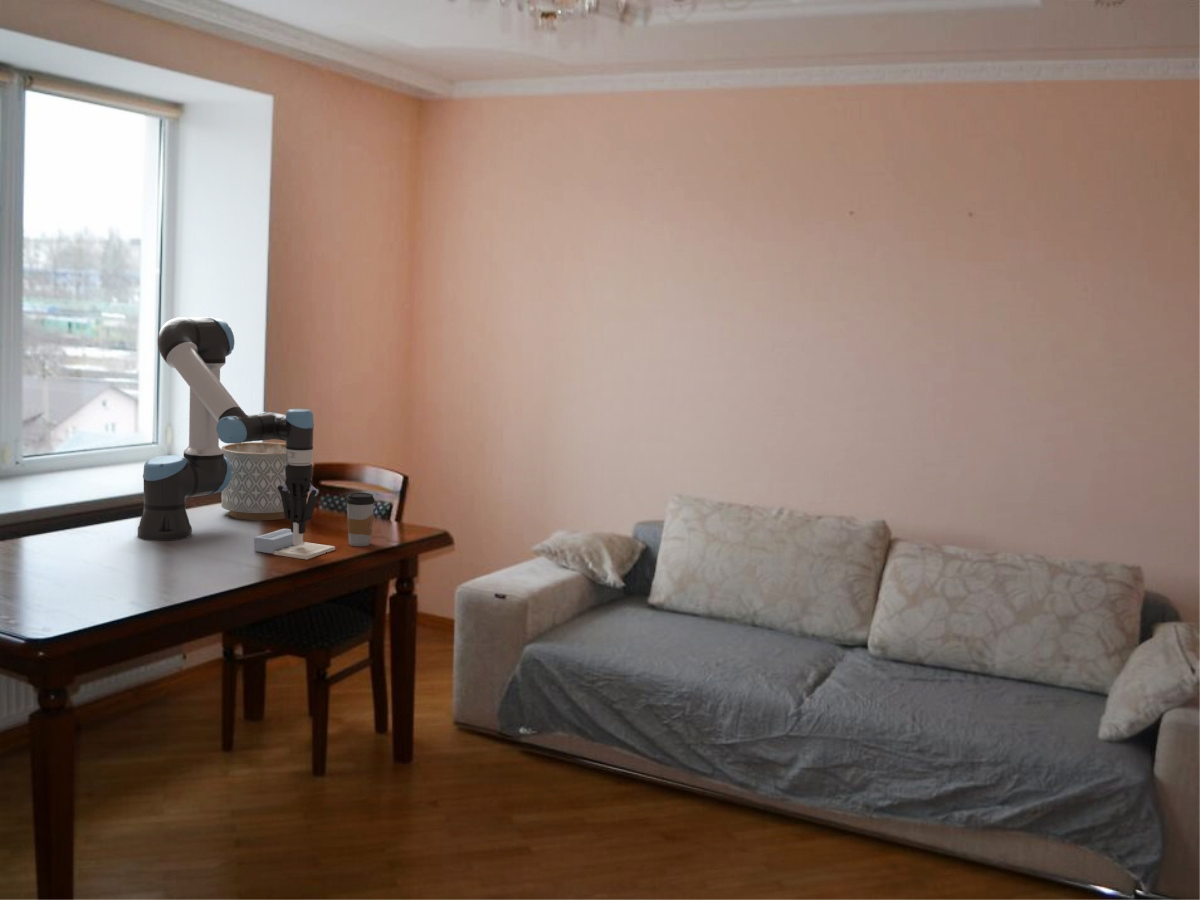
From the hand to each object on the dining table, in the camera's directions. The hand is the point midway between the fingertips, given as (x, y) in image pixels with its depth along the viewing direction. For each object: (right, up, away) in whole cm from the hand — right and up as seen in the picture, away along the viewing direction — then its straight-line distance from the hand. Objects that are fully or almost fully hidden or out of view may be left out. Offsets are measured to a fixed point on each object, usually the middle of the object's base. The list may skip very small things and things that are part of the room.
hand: (297, 544), depth 328 cm
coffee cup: (+15, -1, +13) cm, 20 cm away
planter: (-25, +6, +48) cm, 55 cm away
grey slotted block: (-6, -1, +2) cm, 7 cm away
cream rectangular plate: (+2, -2, -1) cm, 3 cm away
